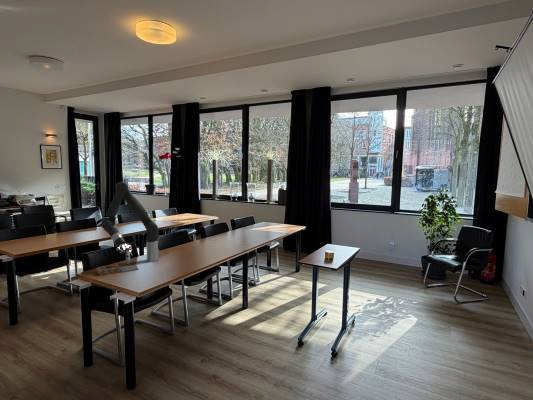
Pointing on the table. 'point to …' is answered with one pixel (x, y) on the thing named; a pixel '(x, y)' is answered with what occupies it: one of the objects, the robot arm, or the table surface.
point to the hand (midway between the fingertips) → (130, 256)
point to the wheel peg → (128, 254)
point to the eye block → (108, 269)
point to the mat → (128, 268)
